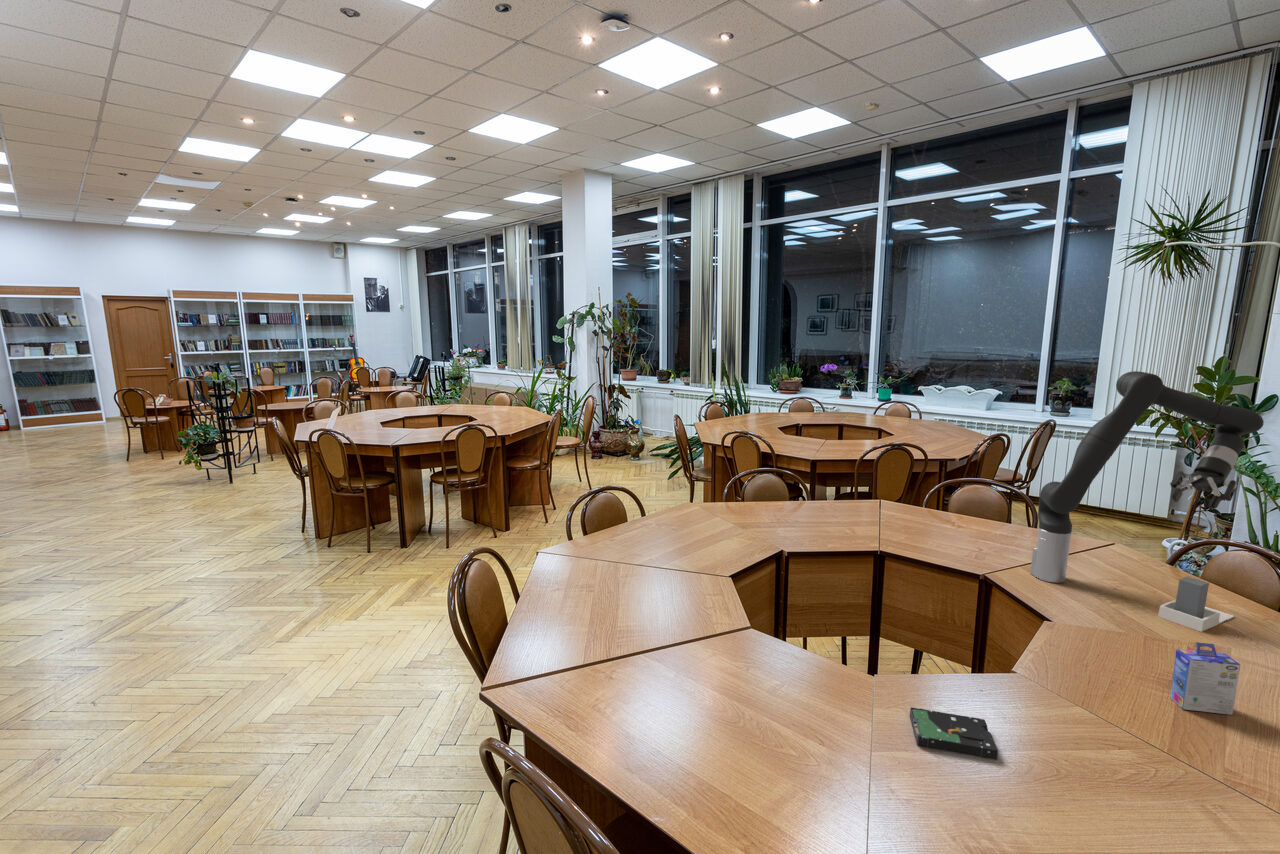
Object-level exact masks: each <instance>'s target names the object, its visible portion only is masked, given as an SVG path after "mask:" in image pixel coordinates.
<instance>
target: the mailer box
mask: <svg viewBox="0 0 1280 854" xmlns="http://www.w3.org/2000/svg"><path fill="white" fill-rule="evenodd" d="M1175 604H1176V599H1174V600H1170V601H1169V602H1166V603H1163V604H1161V605H1160V606H1159V608H1158V609H1159V610H1158V615H1157V616H1158V618H1161V619H1164V620H1166V621H1170V622H1172V623H1176V624H1178V625H1181V626H1184V627H1186V628H1190V629H1193V630H1194V631H1195V630H1196V631H1198V632H1201V633H1202V632H1205V631H1207V630H1209V629H1212V628H1213V627H1216V626H1218V625H1220V624H1223V623H1225V622H1227V621H1230V620H1231V619H1234V618H1235V615H1232V614H1230V613H1226V612H1223V611H1220V610H1217V609H1214V608H1211V607H1208V606H1205V610H1204V615H1203V619H1200V618H1197V617H1194V616H1191V615H1188V614H1185V613H1182V612H1180V611H1177V610H1175ZM1233 617H1234V618H1233ZM1226 620H1227V621H1226ZM1224 621H1225V622H1224ZM1222 622H1223V623H1222Z"/></svg>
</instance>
